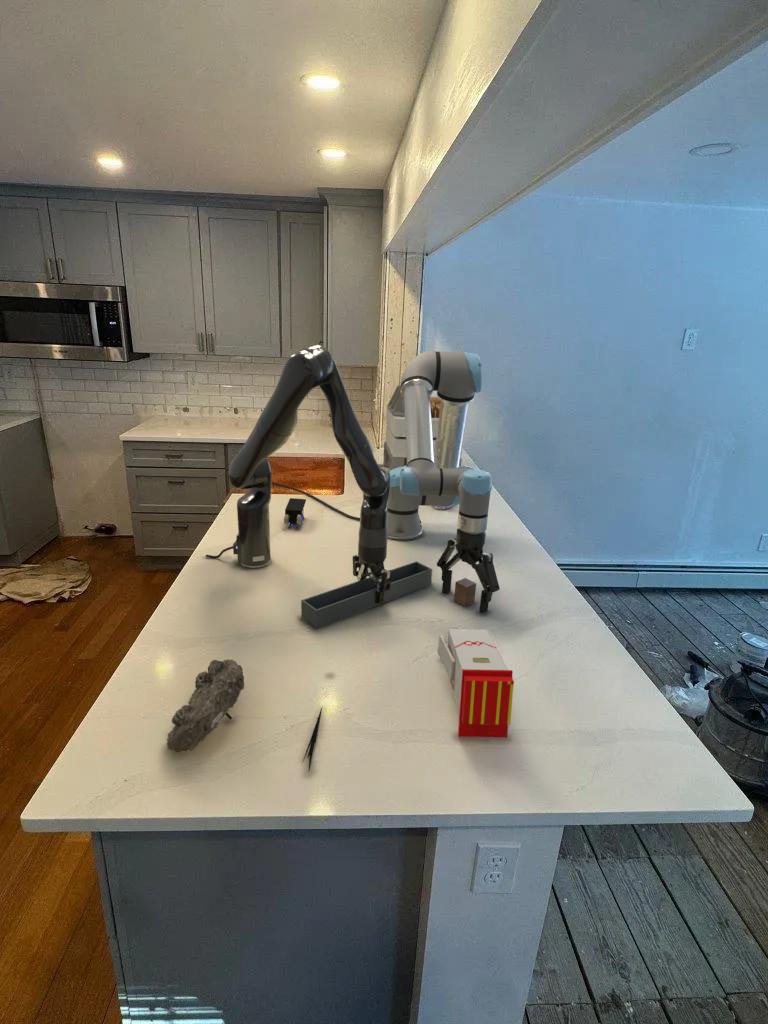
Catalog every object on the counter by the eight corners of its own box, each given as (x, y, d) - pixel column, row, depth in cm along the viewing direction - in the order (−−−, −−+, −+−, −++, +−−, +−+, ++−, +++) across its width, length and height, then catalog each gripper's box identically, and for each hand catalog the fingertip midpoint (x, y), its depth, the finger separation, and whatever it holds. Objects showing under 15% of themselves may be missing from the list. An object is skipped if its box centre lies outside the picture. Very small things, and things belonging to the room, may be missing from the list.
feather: (331, 679, 122) (336, 673, 122) (307, 777, 96) (313, 769, 95) (324, 675, 122) (329, 669, 121) (298, 772, 95) (304, 764, 95)
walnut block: (453, 601, 155) (455, 581, 153) (463, 597, 158) (465, 577, 156) (464, 607, 152) (466, 587, 150) (474, 602, 155) (476, 583, 153)
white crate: (382, 463, 289) (386, 382, 275) (445, 464, 293) (451, 384, 279) (390, 482, 257) (394, 392, 243) (460, 483, 261) (468, 394, 247)
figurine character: (302, 534, 199) (307, 515, 212) (302, 515, 195) (306, 496, 209) (283, 533, 199) (289, 514, 212) (282, 514, 195) (288, 496, 209)
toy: (488, 613, 130) (523, 677, 101) (484, 667, 133) (517, 744, 104) (435, 612, 130) (455, 676, 101) (432, 666, 133) (451, 743, 103)
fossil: (192, 660, 117) (244, 628, 112) (224, 691, 120) (276, 661, 115) (142, 746, 98) (202, 712, 93) (182, 779, 101) (242, 748, 96)
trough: (301, 617, 144) (301, 600, 142) (415, 576, 169) (416, 561, 167) (316, 628, 139) (316, 610, 137) (431, 584, 164) (432, 569, 162)
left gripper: (344, 535, 151) (343, 591, 156) (379, 553, 141) (376, 612, 146) (366, 529, 155) (364, 584, 161) (401, 546, 145) (398, 604, 151)
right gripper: (427, 518, 154) (422, 588, 161) (500, 548, 137) (491, 625, 144) (446, 513, 159) (440, 581, 166) (519, 541, 141) (509, 616, 148)
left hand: (370, 597), depth 154 cm, fingers closed on trough, 6 cm apart
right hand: (464, 601), depth 155 cm, fingers open, 13 cm apart
